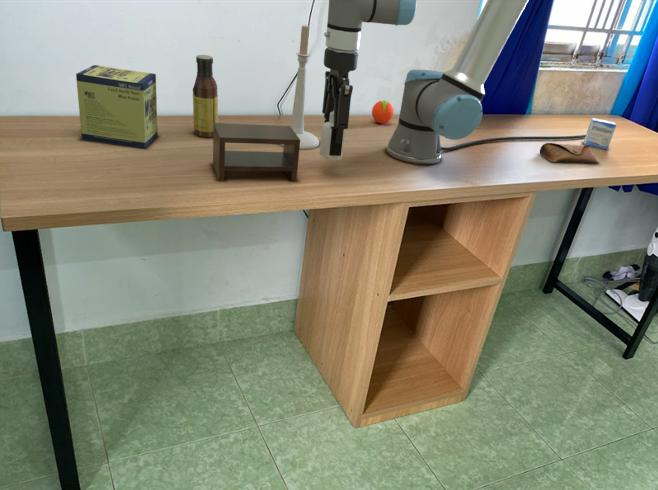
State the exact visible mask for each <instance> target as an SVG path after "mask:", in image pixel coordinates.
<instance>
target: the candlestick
mask: <svg viewBox="0 0 658 490" xmlns="http://www.w3.org/2000/svg"><path fill="white" fill-rule="evenodd" d="M310 28H311V27H310V26H309V25H301V30H300V42H299V52H296V55H297V62H298V67H297V75H296V83H295V90H294V97H293V98H294V100H293V105H292V114H291V120H290V121H291V122H290V125H289V126H290V127H291V128H292V129H293V131H294V132H295V134H296V135H297V136H298V138H299V139H300V148H299V150H310V149H315V148H317V147H318V146H319V145H320V140H319V138H318V137H317V136H316V135H315V134H313V133H311V132H309V131H306V130H305V129H304V127H305V101H306V100H305V98H306V78H307V77H306V76H307V75H306V74H307V73H306V72H307V68H306V66H307V63H308V62H309V57H310V56H311V54H310V53H308V51H309V38H310ZM278 146H281V147H284V144H278Z"/></svg>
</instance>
